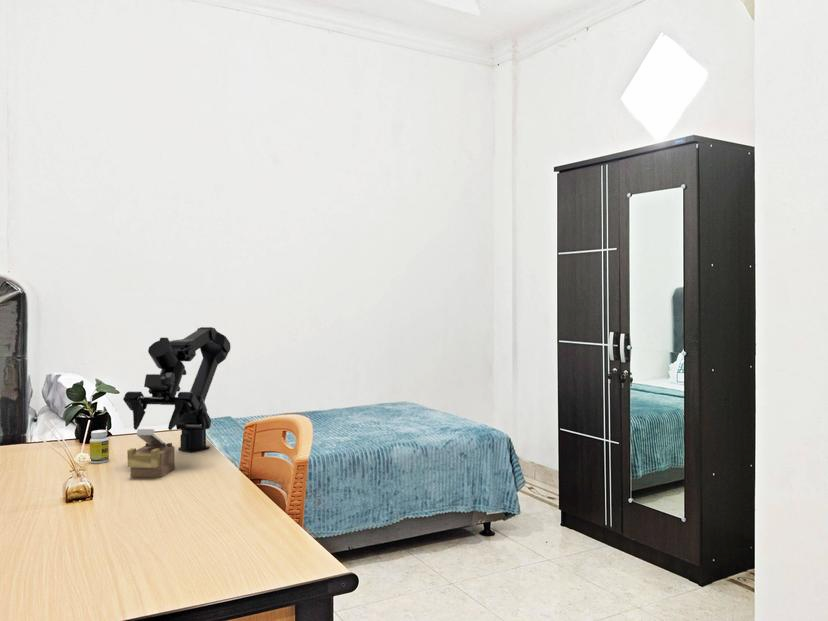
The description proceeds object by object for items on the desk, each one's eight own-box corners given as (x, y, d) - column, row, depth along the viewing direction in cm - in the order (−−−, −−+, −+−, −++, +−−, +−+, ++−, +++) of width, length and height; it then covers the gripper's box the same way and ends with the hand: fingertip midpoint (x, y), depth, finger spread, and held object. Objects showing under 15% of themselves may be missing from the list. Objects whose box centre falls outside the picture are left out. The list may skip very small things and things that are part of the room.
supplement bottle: (103, 463, 185) (103, 432, 185) (86, 463, 185) (86, 433, 185) (112, 459, 190) (111, 429, 190) (95, 459, 190) (94, 429, 190)
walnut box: (145, 468, 180) (144, 441, 180) (174, 468, 179) (174, 441, 179) (126, 479, 170) (125, 450, 169) (157, 479, 169) (157, 450, 169)
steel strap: (151, 446, 179) (152, 440, 180) (166, 446, 179) (167, 441, 180) (136, 434, 171) (137, 429, 172) (152, 435, 171) (153, 429, 171)
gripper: (125, 361, 181) (104, 411, 171) (193, 361, 180) (176, 412, 170) (140, 385, 190) (122, 434, 180) (206, 386, 188) (190, 435, 178)
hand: (152, 429), depth 176 cm, fingers open, 9 cm apart
